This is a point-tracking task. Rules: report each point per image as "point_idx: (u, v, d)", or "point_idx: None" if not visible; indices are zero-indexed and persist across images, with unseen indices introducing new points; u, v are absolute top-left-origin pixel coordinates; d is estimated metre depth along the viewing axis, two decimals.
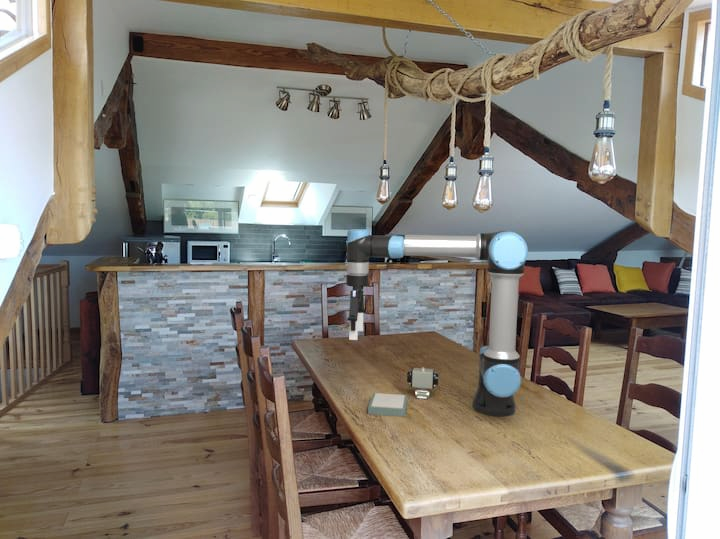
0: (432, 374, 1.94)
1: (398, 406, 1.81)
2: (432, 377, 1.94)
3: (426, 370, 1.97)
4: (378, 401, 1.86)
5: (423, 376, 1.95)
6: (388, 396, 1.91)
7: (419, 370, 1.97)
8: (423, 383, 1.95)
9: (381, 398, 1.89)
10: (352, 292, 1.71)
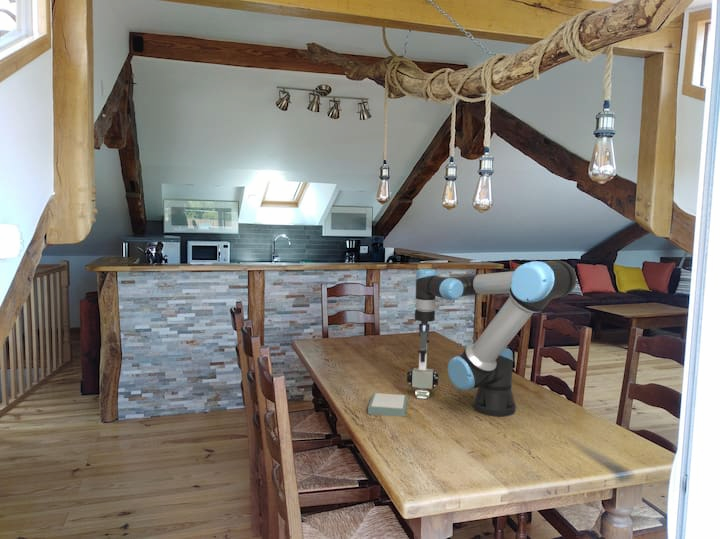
0: (432, 374, 1.94)
1: (398, 406, 1.81)
2: (432, 377, 1.94)
3: (426, 370, 1.97)
4: (378, 401, 1.86)
5: (423, 376, 1.95)
6: (388, 396, 1.91)
7: (419, 370, 1.97)
8: (423, 383, 1.95)
9: (381, 398, 1.89)
10: (422, 327, 1.89)
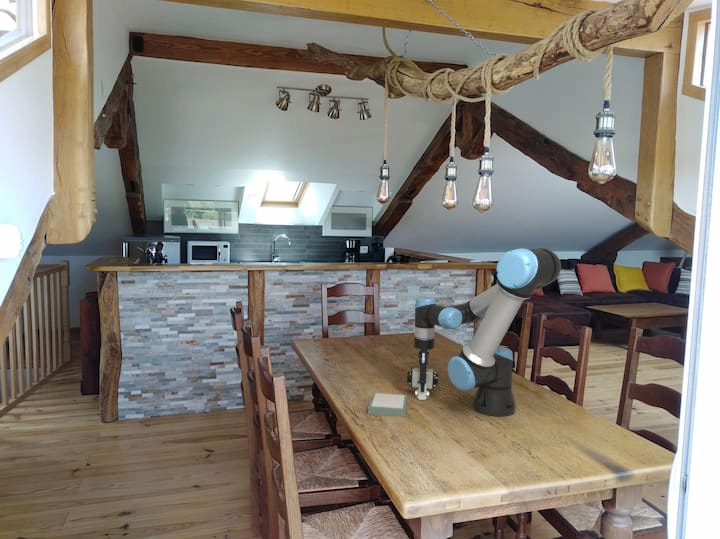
0: (432, 374, 1.94)
1: (398, 406, 1.81)
2: (432, 377, 1.94)
3: (426, 370, 1.97)
4: (378, 401, 1.86)
5: None
6: (388, 396, 1.91)
7: (419, 370, 1.97)
8: None
9: (381, 398, 1.89)
10: (421, 360, 1.90)
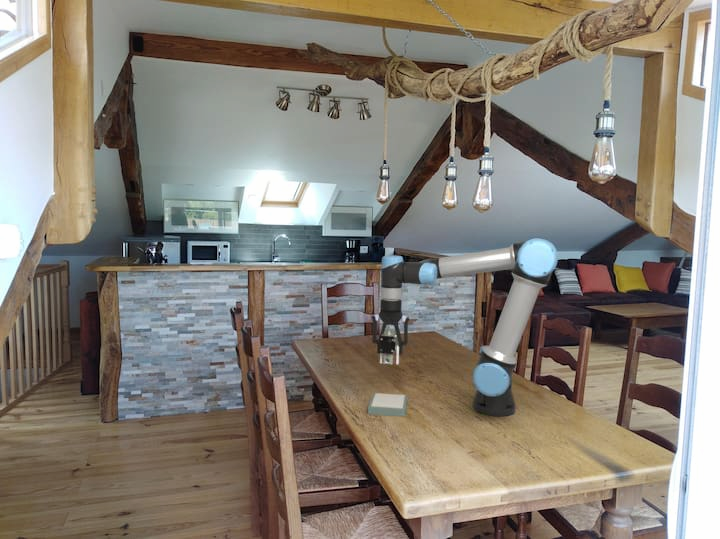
0: None
1: (398, 406, 1.81)
2: None
3: (388, 334, 1.84)
4: (378, 401, 1.86)
5: None
6: (388, 396, 1.91)
7: (387, 332, 1.86)
8: None
9: (381, 398, 1.89)
10: None
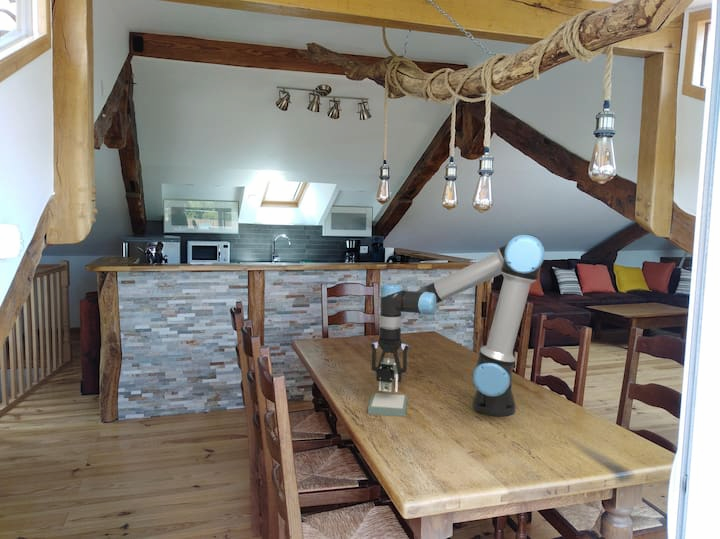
0: (380, 365, 1.83)
1: (398, 406, 1.81)
2: None
3: (387, 362, 1.85)
4: (378, 401, 1.86)
5: None
6: (388, 396, 1.91)
7: (386, 360, 1.87)
8: None
9: (381, 398, 1.89)
10: None
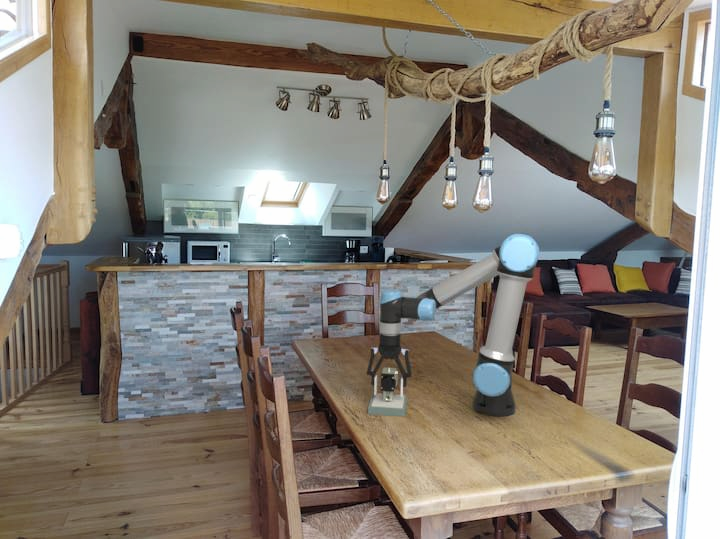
0: (381, 374, 1.83)
1: (398, 406, 1.81)
2: (381, 378, 1.83)
3: (388, 371, 1.85)
4: (378, 401, 1.86)
5: None
6: None
7: (387, 369, 1.88)
8: None
9: (381, 398, 1.89)
10: None
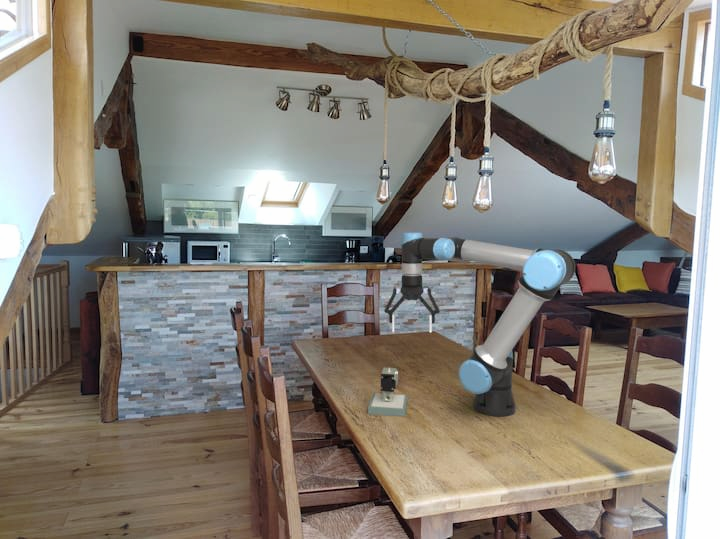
0: (381, 375, 1.83)
1: (398, 406, 1.81)
2: (381, 378, 1.83)
3: (388, 371, 1.85)
4: (378, 401, 1.86)
5: None
6: None
7: (387, 369, 1.88)
8: None
9: (381, 398, 1.89)
10: (393, 288, 1.91)
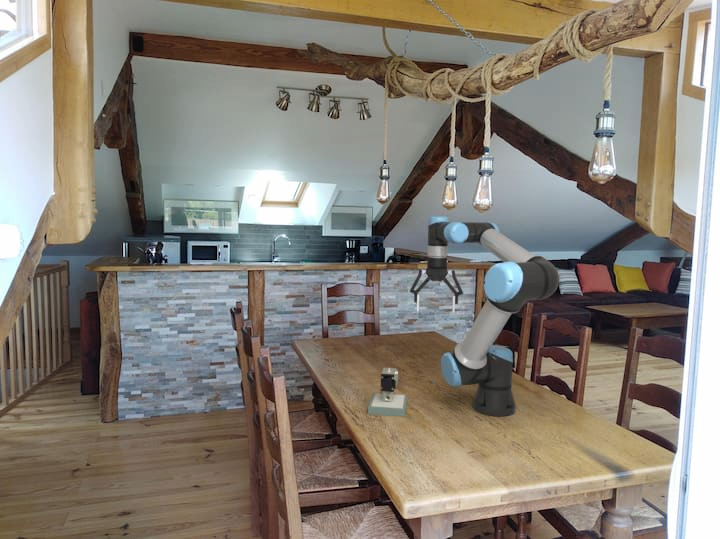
0: (381, 375, 1.83)
1: (398, 406, 1.81)
2: (381, 378, 1.83)
3: (388, 371, 1.85)
4: (378, 401, 1.86)
5: None
6: None
7: (387, 369, 1.88)
8: None
9: (381, 398, 1.89)
10: (419, 270, 1.99)
